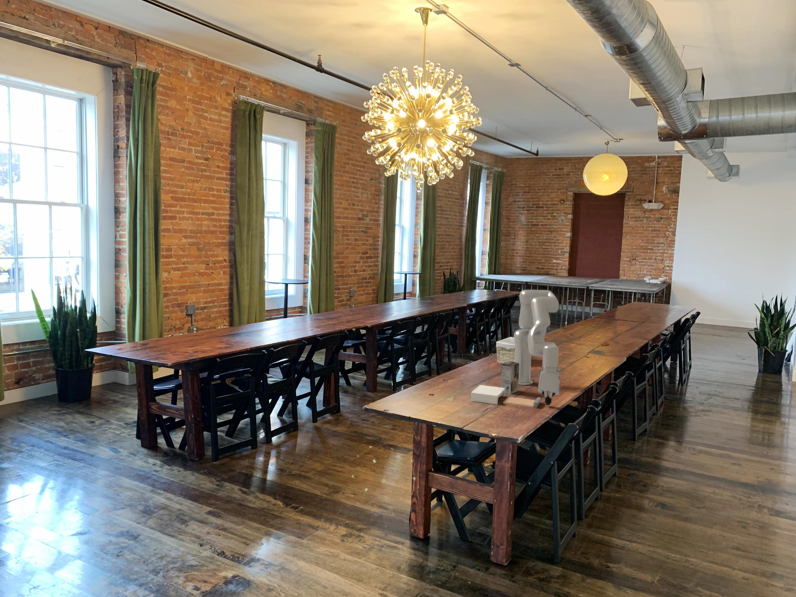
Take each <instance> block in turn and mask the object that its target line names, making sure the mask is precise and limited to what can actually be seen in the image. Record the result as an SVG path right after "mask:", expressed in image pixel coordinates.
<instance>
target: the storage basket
mask: <svg viewBox="0 0 796 597" xmlns="http://www.w3.org/2000/svg"><path fill="white" fill-rule="evenodd" d="M495 343H496V345H495V348H496V356H497V357H496V358H497V363H498V364H503V363H506V362H509V361H512V362H515V342H514V336H513V337H512V336H510V337H506V338H504V339H501V340H497V341H496V342H495ZM527 347H528V346H527ZM528 349H529V347H528Z"/></svg>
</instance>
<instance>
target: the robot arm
mask: <svg viewBox="0 0 796 597" xmlns="http://www.w3.org/2000/svg"><path fill="white" fill-rule="evenodd" d="M557 298H558V297H556V296H555V294H554V293H553V292H552V291H551V290H548V289H547V290H546V289H523V290H521V291H520V293H519V302H520V303H519V304H520V310H519V317H518V326H519V328H521V329H517V330H515V331H514V333H513V337H514V342H515V362H516V363H519V384H518V386H519V385H520V386H527V385H528V386H529V385H532V384H533V383H534V382H533V380H532V379H531V374H532V373H531V369H532V357H542V365H541V366H542V367H541V371H540V374H539V378H538V389H537V392H538V393H539V394H542V395H543V396H544V403H545V406H550V405H551V404H552V398H553V397H554V396H557V395H558V396H559V395H560V387H561V378H560V372H561V367H559V351H560V350H559V346H557V345H556V344H557V343H555V342H552V341H545V337H546V332H547V328H548V327H550V325H551V318H550V314H549V313H557V312H558V311H559V306H560V303H559V301H558V299H557ZM527 346H528V347H529V349H528V347H527ZM548 392H549V393H548Z"/></svg>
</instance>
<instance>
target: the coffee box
mask: <svg viewBox="0 0 796 597" xmlns="http://www.w3.org/2000/svg"><path fill="white" fill-rule="evenodd" d="M500 378H501V382H500V387H501V388H505V394H509V395H512V394H513V393H514V394H515V393H517V392H519V363H516V362H512V361H509V362H506V363H501V377H500Z"/></svg>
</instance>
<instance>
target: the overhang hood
mask: <svg viewBox="0 0 796 597" xmlns="http://www.w3.org/2000/svg"><path fill="white" fill-rule="evenodd" d="M500 397H506V393H505V388H501V386H500V387H499V386H491V385H485V384H479V385H478V386H477V387H476V388H474V389H473V390H472V391H471V392H470V401H471V402H478V403H483V404H491V405H498V401H499V398H500Z"/></svg>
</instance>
